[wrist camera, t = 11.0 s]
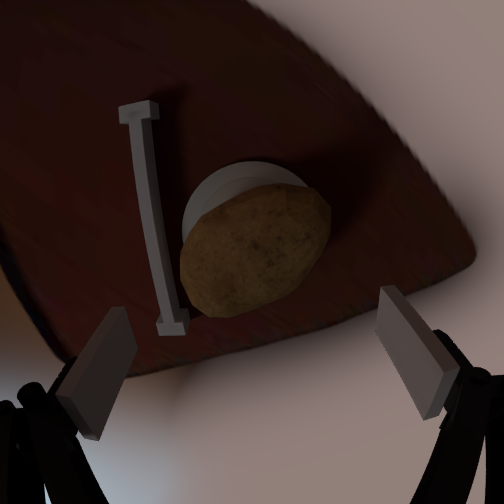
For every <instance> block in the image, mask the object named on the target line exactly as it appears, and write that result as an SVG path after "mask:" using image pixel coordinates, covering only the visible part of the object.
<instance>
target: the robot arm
mask: <svg viewBox="0 0 504 504" xmlns="http://www.w3.org/2000/svg"><path fill="white" fill-rule="evenodd" d="M375 332H376V334H377V335H378V337H379V339H380V341H381V342H382V344H383V346H384V347H385V349H386V351H387V353H388V355H389V356H390V358H391V360H392V362H393V364H394V366H395V367H396V369H397V371H398V373H399V375H400V377H401V378H402V380H403V382H404V384H405V386H406V387H407V390H408V391H409V393H410V395H411V397H412V399H413V401H414V403H415V405H416V407H417V409H418V411H419V413H420V414H421V417H422V419H423V420H427V419H430V418H433V417H436V416H439V414H440V412H441V410H442V408H443V406H444V408H445V410H446V411H447V414H446V416H445V418H444V419H443V421H442V423H441V425H440V427H439V428H440V429H441V430H440V433H439V436H438V439H437V441H436V444H435V447H434V450H433V452H432V455H431V457H430V460H429V462H428V465H427V467H426V470H425V472H424V474H423V476H422V479H421V481H420V483H419V485H418V488H417V490H416V492H415V494H414V496H413V498H412V500H411V502H410V504H466V502H467V499H468V496H469V493H470V490H471V487H472V483H473V480H474V477H475V474H476V470H477V466H478V463H479V458H480V455H481V450H482V446H483V441H484V437H485V443H486V488H485V504H504V375H493V376H491V374H490V373H489V372H488V371H487V370H486V369H483V368H481V367H473V366H472V364H471V363H470V362H469V361H468V359H467V358H466V357H465V356H464V354H463V353H462V352H461V351H460V349H458V347H457V346H456V344H455V343H453V341H452V339H450V337H449V336H448V335H447V334H446V333H444V332H442V331H441V330H439V329H437V330H433V331H432V330H431V329H430V328H429V327H428V325H427V324H426V323H425V321H424V320H423V319H422V318H421V316H420V315H419V314H418V313H417V312H416V311H415V309H414V308H413V307H412V306H411V305H410V303H409V302H408V301H407V300H406V299H405V297H404V296H403V295H402V294H401V293H400V292H399V290H398V289H397V288H396V287H395V286H394V285H390V286H382V287H381V289H380V298H379V306H378V313H377V321H376V328H375ZM137 350H138V347H137V344H136V341H135V338H134V335H133V332H132V329H131V326H130V323H129V320H128V317H127V313H126V310H125V307H111V309H110V310H109V312H108V313H107V315H106V316H105V318H104V319H103V320H102V322H101V323H100V325H99V326H98V328H97V329H96V331H95V332H94V334H93V335H92V337H91V338H90V340H89V341H88V343H87V344H86V346H85V347H84V349H83V350H82V352H81V353H80V355H79V356H78V357H73V358H72V359H70V360H69V361H68V362H67V363H66V364H65V366H64V367H63V369H62V372H60V374H59V375H58V378H56V380H55V381H54V383H53V384H52V386H51V388H50V389H49V391H48V393H46V392H45V390H44V389H43V387H42V385H41V384H40V383H38V382H31V383H28V384H26V385H24V386H23V387H22V388H21V389H20V390H19V392H18V393H17V399H18V400H19V402H20V403H21V405H22V406H23V408H15V406H14V405H13V403H12V402H11V401H9V400H3V401H0V504H46V501H45V489H44V484H45V487H46V490H47V493H48V496H49V498H50V501H51V504H109V503H108V501H107V499H106V497H105V495H104V494H103V492H102V490H101V488H100V486H99V484H98V482H97V480H96V478H95V476H94V474H93V472H92V470H91V468H90V465H89V463H88V461H87V459H86V457H85V454H84V452H83V450H82V447H81V445H80V443H79V440H78V439H77V438H76V434H77V432H78V430H79V432H80V433H81V435H82V436H83V437H84V438H86V439H90V440H95V441H99V440H100V437H101V435H102V432H103V430H104V427H105V424H106V422H107V419H108V417H109V415H110V412H111V410H112V407H113V405H114V403H115V400H116V398H117V395H118V393H119V391H120V388H121V386H122V384H123V381H124V379H125V377H126V374H127V372H128V370H129V368H130V365H131V363H132V361H133V359H134V356H135V354H136V352H137Z"/></svg>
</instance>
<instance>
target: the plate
mask: <svg viewBox="0 0 504 504" xmlns="http://www.w3.org/2000/svg"><path fill="white" fill-rule="evenodd" d="M276 183H286V184H292V185H298V186H304V187H308V186H307V185H306V184H305V183H304V182H303V181H302V180H301V179H300V178H299V177H297V176H296V175H295V174H293V173H292V172H290V171H288V170H287V169H285V168H283V167H280V166H278V165H275V164H271V163H267V162H260V161H245V162H239V163H235V164H231V165H228V166H226V167H223V168H221V169H219V170H218V171H216V172H214V173H213V174H211V175H210V176H209V177H208V178H206V179H205V180H204V181H203V182H202V183H201V184H200V185H199V186H198V187H197V188H196V190H195V191H194V193H193V194H192V196H191V197H190V199H189V201H188V203H187V206H186V209H185V212H184V216H183V221H182V238H183V244H184V243H185V241H186V239H187V236H188V234H189V232H190V231H191V229H192V228H193V227H194V225H195V224H196V222H197V221H198V220H199V218H200V217H201V216H202V215H204V214H205V213H207V212H209V211H210V210H212V209H214V208H215V207H217V206H219V205H220V204H222V203H224V202H225V201H227V200H229V199H231V198H233V197H235V196H237V195H239V194H241V193H243V192H245V191H248V190H250V189H253V188H255V187H258V186H262V185H269V184H276Z"/></svg>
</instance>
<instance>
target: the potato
mask: <svg viewBox="0 0 504 504" xmlns="http://www.w3.org/2000/svg"><path fill="white" fill-rule="evenodd" d="M330 232H331V207H330V205H329V204H328V203H327V202H326V201H325V200H324V199H323V198H322V197H321V195H320V194H319V193H318V192H317V191H316V190H315V189H314V188H310V187H304V186H298V185H292V184H286V183H276V184H269V185H262V186H258V187H255V188H253V189H250V190H248V191H245V192H243V193H241V194H239V195H237V196H235V197H233V198H231V199H229V200H227V201H225V202H224V203H222V204H220V205H219V206H217V207H215V208H214V209H212V210H210V211H209V212H207V213H205V214H204V215H202V216H201V217H200V218H199V220H198V221H197V222H196V224H195V225H194V227H193V228H192V229H191V231H190V232H189V234H188V236H187V239H186V241H185V243H184V245H183V248H182V250H181V255H180V280H181V282H182V284H183V286H184V288H185V290H186V293H187V295H188V297H189V299H190V301H191V303H192V305H193V306H194V307H196V308H197V309H198V310H200V311H201V312H203V313H204V314H205V315H207V316H208V317H232V316H235V315H238V314H241V313H244V312H248V311H250V310H252V309H255V308H257V307H260V306H262V305H264V304H267V303H269V302H272V301H275V300H277V299H280V298H283V297H285V296H286V295H287V294H289V293H290V292H291V291H293V290H294V289H296V288H297V287H298V286H300V285H301V283H302V282H303V281H304V279H305V278H306V276H307V275H308V274H309V272H310V271H311V269H312V268H313V266H314V265H315V263H316V262H317V261H318V259H319V258H320V256H321V255H322V253H323V251H324V249H325V247H326V244H327V242H328V240H329V238H330Z"/></svg>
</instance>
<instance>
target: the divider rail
mask: <svg viewBox="0 0 504 504" xmlns="http://www.w3.org/2000/svg"><path fill="white" fill-rule="evenodd" d="M119 119H120V123H121V124H129V129H130V139H131V149H132V157H133V165H134V173H135V180H136V187H137V194H138V201H139V207H140V213H141V219H142V225H143V230H144V236H145V241H146V246H147V252H148V257H149V261H150V266H151V271H152V276H153V280H154V285H155V289H156V293H157V298H158V302H159V306H160V310H161V314H160V316H159V318H158V320H157V322H156V325H157V329H158V333H159V336H164V335H186V332H187V329H188V326H189V322H190V317H189V312H188V308H180V306H179V301H178V297H177V292H176V287H175V282H174V277H173V272H172V266H171V261H170V255H169V250H168V244H167V238H166V232H165V226H164V220H163V213H162V207H161V200H160V193H159V186H158V178H157V170H156V162H155V153H154V144H153V135H152V124H151V121H152V120H157V119H160V116H159V104H158V103H156V102H153V101H150V100H147V101H142V102H137V103H133V104H128V105H124V106H120V107H119Z"/></svg>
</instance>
